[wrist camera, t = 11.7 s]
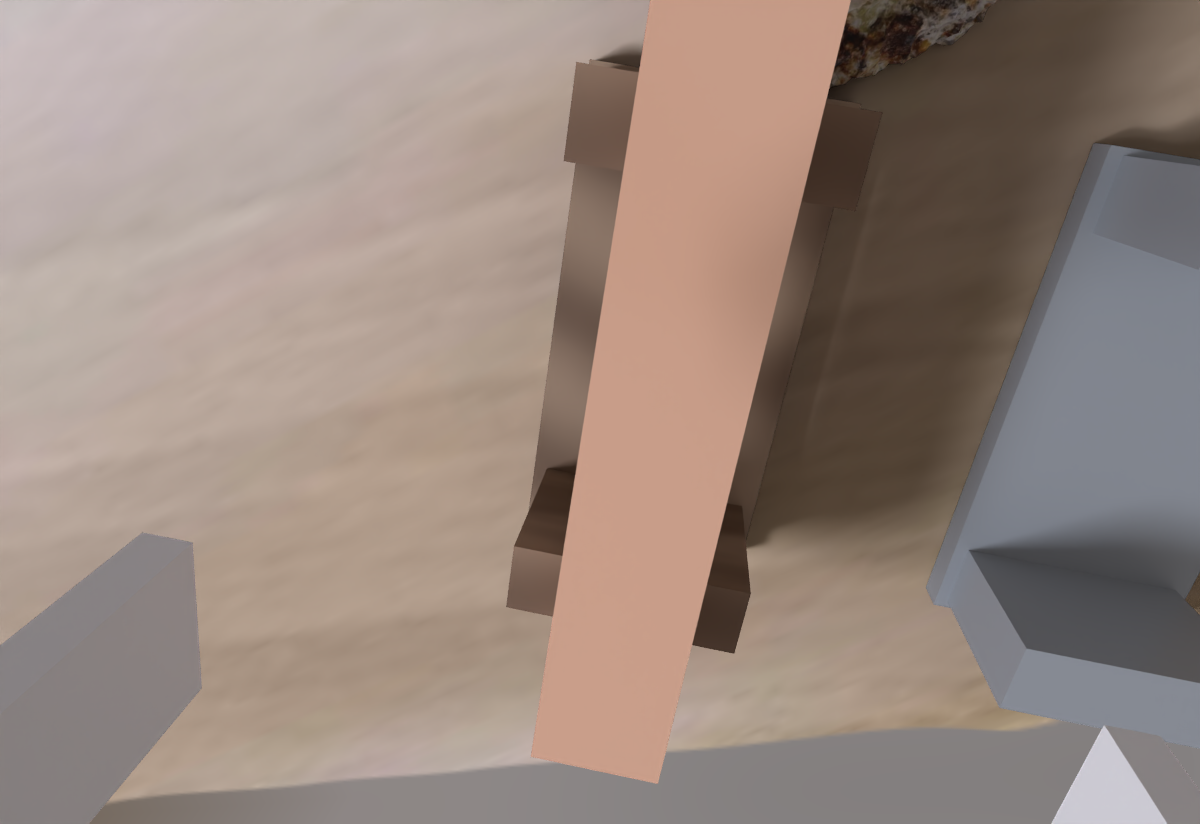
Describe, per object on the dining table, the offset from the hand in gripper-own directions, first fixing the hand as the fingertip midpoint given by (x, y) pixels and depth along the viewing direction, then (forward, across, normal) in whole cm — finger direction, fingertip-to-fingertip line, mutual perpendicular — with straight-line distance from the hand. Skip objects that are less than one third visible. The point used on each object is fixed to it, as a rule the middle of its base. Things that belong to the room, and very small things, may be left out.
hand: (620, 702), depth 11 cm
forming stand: (+20, +17, 0) cm, 27 cm away
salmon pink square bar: (+13, 0, 0) cm, 13 cm away
